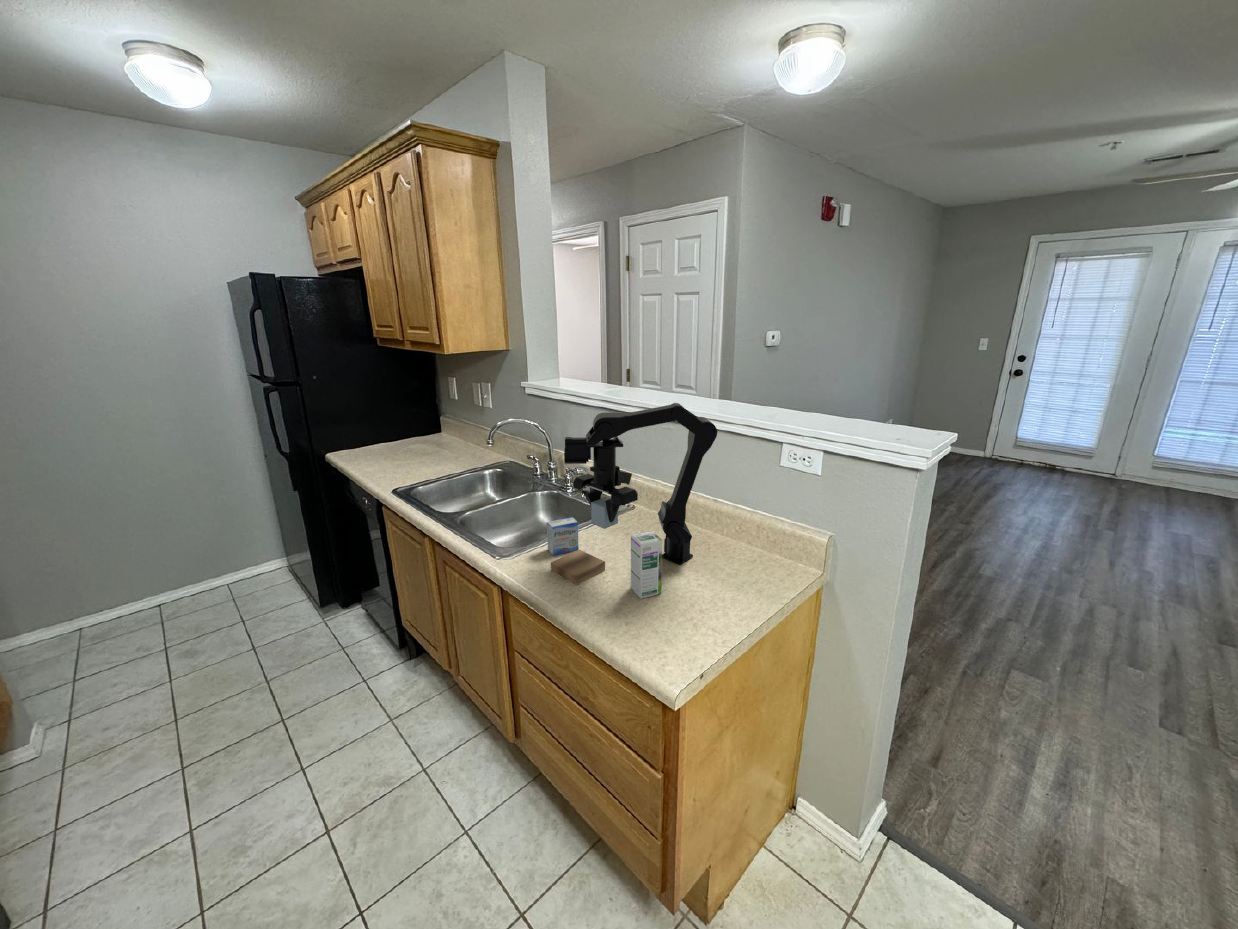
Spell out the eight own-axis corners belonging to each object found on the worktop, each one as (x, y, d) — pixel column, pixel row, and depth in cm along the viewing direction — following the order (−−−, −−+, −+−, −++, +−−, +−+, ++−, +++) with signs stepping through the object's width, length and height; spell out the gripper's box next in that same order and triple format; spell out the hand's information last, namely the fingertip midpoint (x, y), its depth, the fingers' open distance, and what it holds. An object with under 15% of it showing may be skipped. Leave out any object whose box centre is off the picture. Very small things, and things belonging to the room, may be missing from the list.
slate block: (617, 523, 134) (618, 502, 132) (604, 528, 130) (604, 507, 128) (604, 517, 137) (604, 497, 135) (591, 523, 134) (591, 502, 132)
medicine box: (552, 556, 139) (551, 527, 136) (547, 549, 143) (546, 521, 140) (579, 549, 143) (578, 521, 140) (573, 543, 146) (572, 516, 144)
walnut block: (605, 571, 132) (605, 561, 131) (577, 586, 125) (576, 576, 124) (579, 559, 138) (578, 549, 137) (551, 572, 131) (550, 562, 130)
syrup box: (640, 599, 119) (641, 544, 114) (629, 587, 124) (630, 533, 119) (661, 594, 121) (663, 539, 116) (650, 582, 126) (651, 529, 122)
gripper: (652, 464, 128) (651, 520, 133) (601, 449, 140) (602, 501, 145) (622, 474, 120) (621, 533, 125) (571, 457, 133) (572, 512, 137)
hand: (604, 519), depth 133 cm, fingers closed on slate block, 5 cm apart
